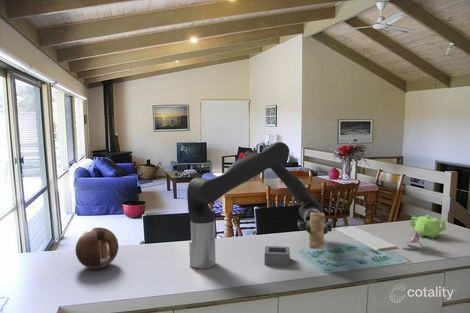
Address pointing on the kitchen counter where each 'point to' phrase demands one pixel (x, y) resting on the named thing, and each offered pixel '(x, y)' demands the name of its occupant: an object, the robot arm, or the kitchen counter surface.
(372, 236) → the baseboard molding
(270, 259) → the endcap
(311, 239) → the tan tall cylinder
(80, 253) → the wooden sphere
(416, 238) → the lily
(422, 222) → the teapot
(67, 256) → the kitchen counter surface
